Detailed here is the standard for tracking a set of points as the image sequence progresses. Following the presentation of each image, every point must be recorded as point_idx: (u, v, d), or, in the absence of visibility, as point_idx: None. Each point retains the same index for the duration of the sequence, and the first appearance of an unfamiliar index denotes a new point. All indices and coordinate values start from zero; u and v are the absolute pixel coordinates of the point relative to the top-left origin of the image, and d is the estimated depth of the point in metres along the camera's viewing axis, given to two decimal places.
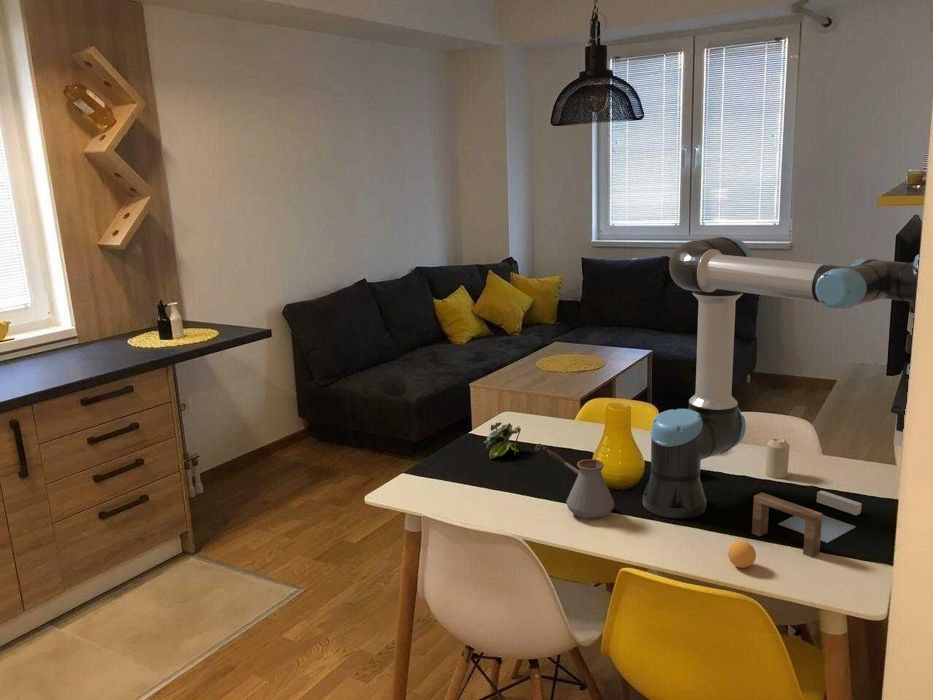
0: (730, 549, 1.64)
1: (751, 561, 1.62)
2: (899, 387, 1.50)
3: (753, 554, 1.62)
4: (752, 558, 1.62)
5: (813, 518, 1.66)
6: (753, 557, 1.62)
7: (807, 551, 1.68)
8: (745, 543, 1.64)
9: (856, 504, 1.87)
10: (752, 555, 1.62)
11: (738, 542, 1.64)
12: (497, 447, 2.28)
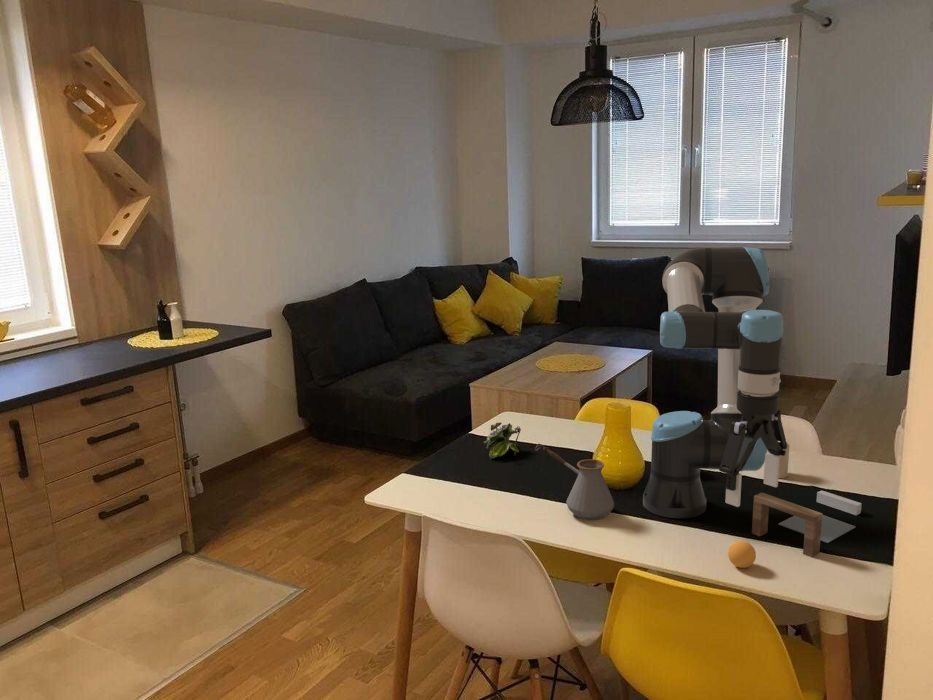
0: (730, 549, 1.64)
1: (751, 561, 1.62)
2: (727, 446, 1.49)
3: (753, 554, 1.62)
4: (752, 558, 1.62)
5: (813, 518, 1.66)
6: (753, 557, 1.62)
7: (807, 551, 1.68)
8: (745, 543, 1.64)
9: (856, 504, 1.87)
10: (752, 555, 1.62)
11: (738, 542, 1.64)
12: (497, 447, 2.28)
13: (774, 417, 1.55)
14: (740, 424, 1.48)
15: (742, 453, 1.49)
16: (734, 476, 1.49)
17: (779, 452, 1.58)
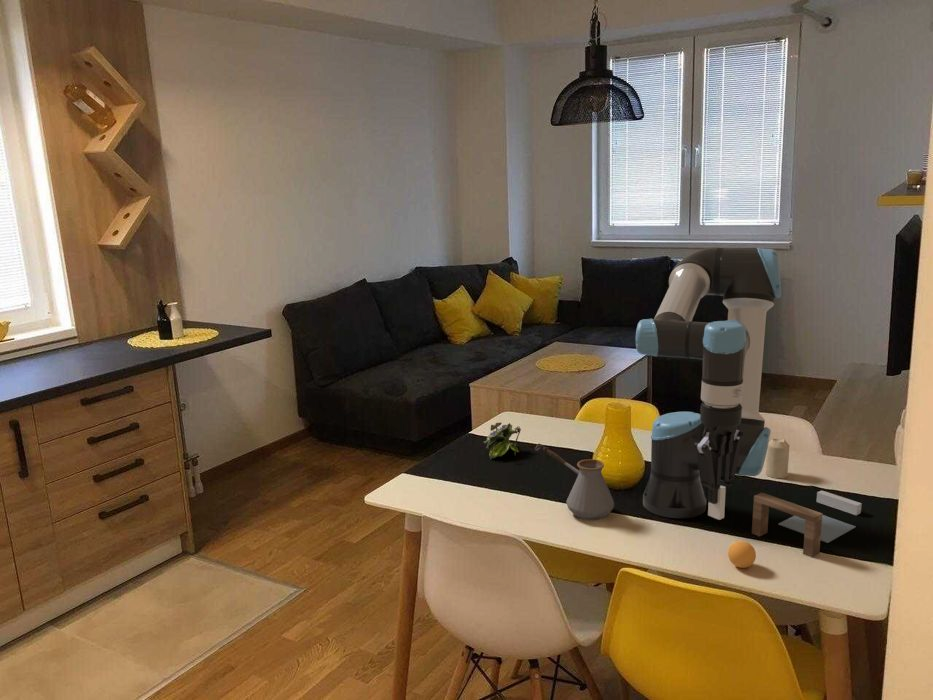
0: (730, 549, 1.64)
1: (751, 561, 1.62)
2: (699, 464, 1.52)
3: (753, 554, 1.62)
4: (752, 558, 1.62)
5: (813, 518, 1.66)
6: (753, 557, 1.62)
7: (807, 551, 1.68)
8: (745, 543, 1.64)
9: (856, 504, 1.87)
10: (752, 555, 1.62)
11: (738, 542, 1.64)
12: (497, 447, 2.28)
13: (736, 436, 1.55)
14: (702, 447, 1.49)
15: (716, 468, 1.52)
16: (716, 490, 1.54)
17: (725, 481, 1.54)
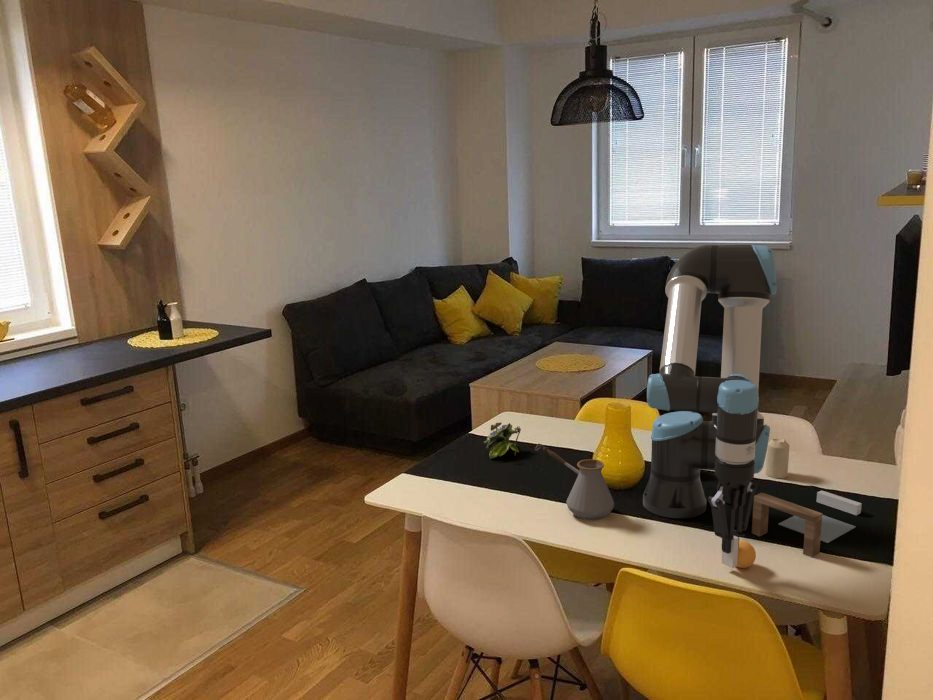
0: None
1: (751, 561, 1.62)
2: (713, 517, 1.58)
3: (753, 554, 1.62)
4: (752, 558, 1.62)
5: (813, 518, 1.66)
6: (753, 557, 1.62)
7: (807, 551, 1.68)
8: (745, 543, 1.64)
9: (856, 504, 1.87)
10: (752, 555, 1.62)
11: None
12: (497, 447, 2.28)
13: (749, 488, 1.61)
14: (715, 501, 1.55)
15: (729, 520, 1.59)
16: (729, 540, 1.60)
17: (739, 532, 1.61)
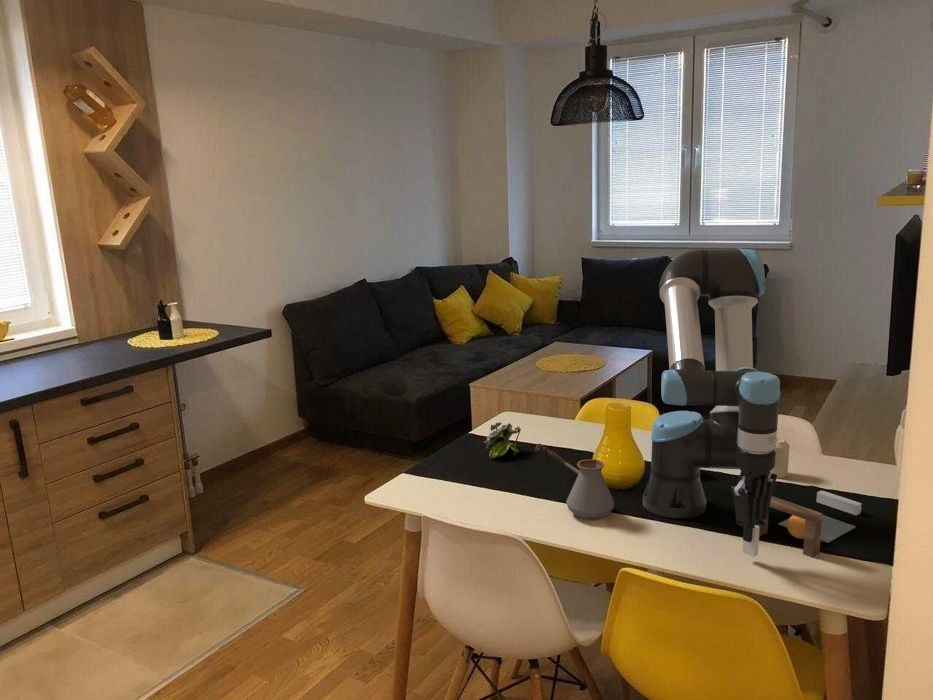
0: None
1: None
2: (735, 506, 1.62)
3: None
4: None
5: (813, 518, 1.66)
6: None
7: (807, 551, 1.68)
8: None
9: (856, 504, 1.87)
10: None
11: None
12: (497, 447, 2.28)
13: (770, 478, 1.65)
14: (738, 490, 1.59)
15: (751, 509, 1.62)
16: (750, 529, 1.64)
17: (759, 521, 1.64)
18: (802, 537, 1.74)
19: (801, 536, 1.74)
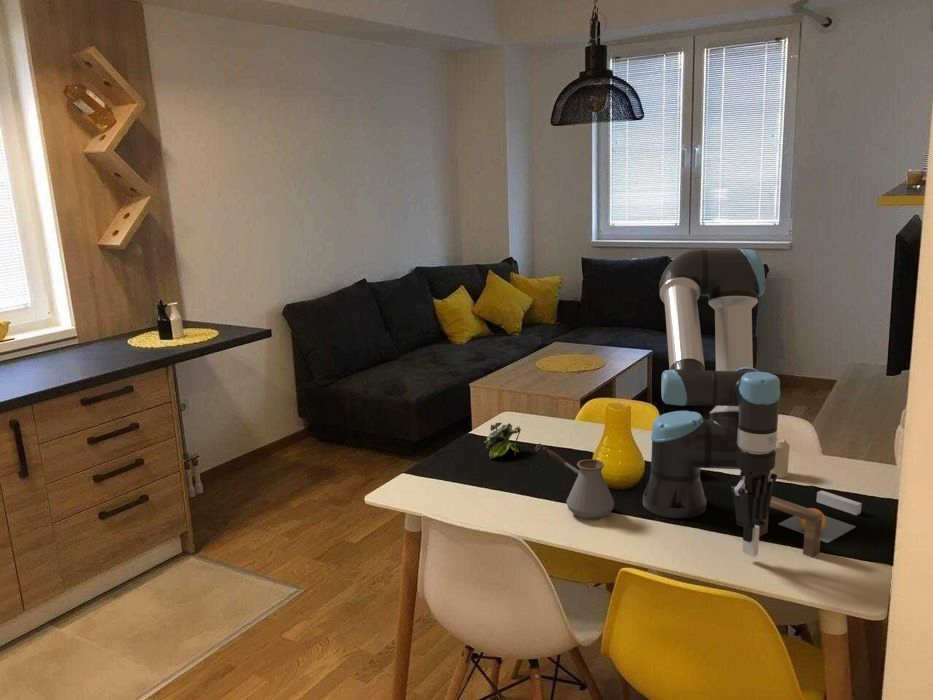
0: None
1: (824, 522, 1.77)
2: (735, 506, 1.62)
3: (822, 528, 1.77)
4: (824, 524, 1.77)
5: (813, 518, 1.66)
6: (823, 526, 1.77)
7: (807, 551, 1.68)
8: None
9: (856, 504, 1.87)
10: (823, 527, 1.77)
11: None
12: (497, 447, 2.28)
13: (770, 478, 1.65)
14: (738, 490, 1.59)
15: (751, 509, 1.62)
16: (750, 529, 1.64)
17: (759, 521, 1.64)
18: None
19: None
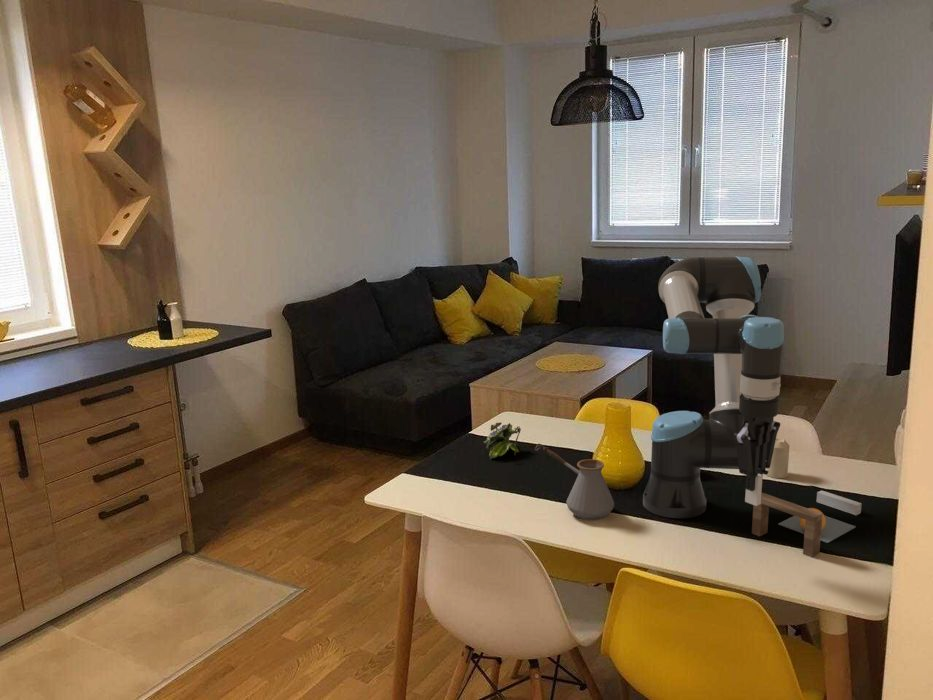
0: None
1: (824, 522, 1.77)
2: (738, 453, 1.59)
3: (822, 528, 1.77)
4: (824, 524, 1.77)
5: (813, 518, 1.66)
6: (823, 526, 1.77)
7: (807, 551, 1.68)
8: None
9: (856, 504, 1.87)
10: (823, 527, 1.77)
11: None
12: (497, 447, 2.28)
13: (773, 426, 1.62)
14: (741, 437, 1.56)
15: (754, 457, 1.60)
16: (753, 477, 1.61)
17: (762, 469, 1.62)
18: None
19: None
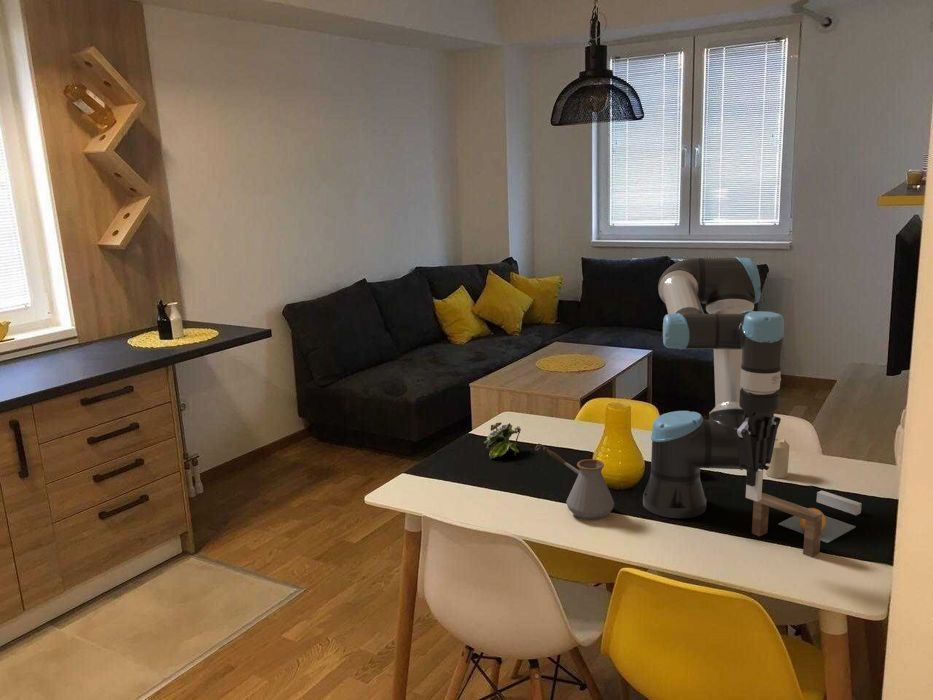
0: None
1: (824, 522, 1.77)
2: (738, 448, 1.59)
3: (822, 528, 1.77)
4: (824, 524, 1.77)
5: (813, 518, 1.66)
6: (823, 526, 1.77)
7: (807, 551, 1.68)
8: None
9: (856, 504, 1.87)
10: (823, 527, 1.77)
11: None
12: (497, 447, 2.28)
13: (773, 421, 1.62)
14: (741, 432, 1.56)
15: (754, 452, 1.59)
16: (754, 473, 1.61)
17: (763, 465, 1.61)
18: None
19: None
